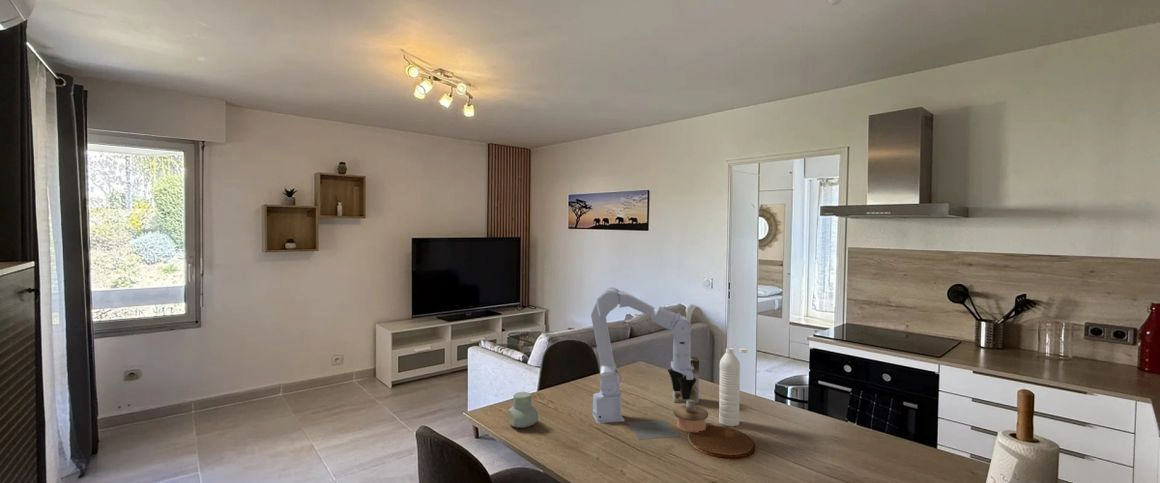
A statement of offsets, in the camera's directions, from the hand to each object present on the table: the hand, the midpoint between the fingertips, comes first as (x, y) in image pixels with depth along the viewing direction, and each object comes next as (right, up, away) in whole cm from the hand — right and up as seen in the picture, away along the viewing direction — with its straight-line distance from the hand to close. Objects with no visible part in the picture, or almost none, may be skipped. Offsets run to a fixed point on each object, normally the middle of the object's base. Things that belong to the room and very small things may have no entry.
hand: (681, 394), depth 159 cm
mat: (-10, -10, -5) cm, 15 cm away
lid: (+2, -5, -3) cm, 7 cm away
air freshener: (-52, -10, 0) cm, 53 cm away
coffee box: (+6, -9, +22) cm, 25 cm away
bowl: (+3, -10, -3) cm, 11 cm away
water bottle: (+17, -10, +1) cm, 20 cm away
